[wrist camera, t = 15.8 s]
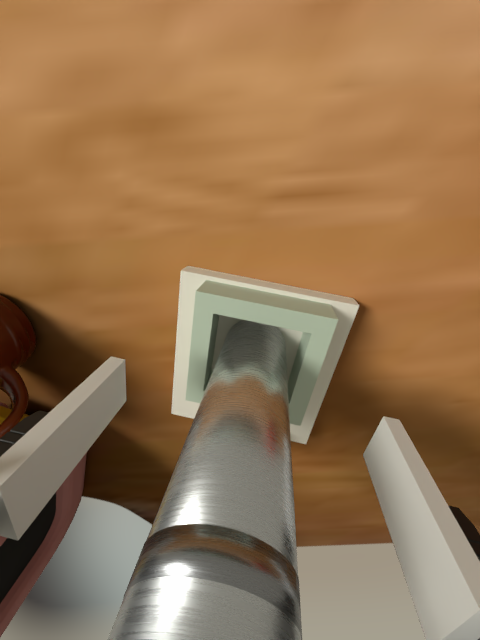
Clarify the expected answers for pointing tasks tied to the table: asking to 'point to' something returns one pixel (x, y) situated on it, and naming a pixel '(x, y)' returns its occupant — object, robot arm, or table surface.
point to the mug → (14, 359)
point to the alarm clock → (36, 541)
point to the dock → (267, 308)
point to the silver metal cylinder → (225, 512)
